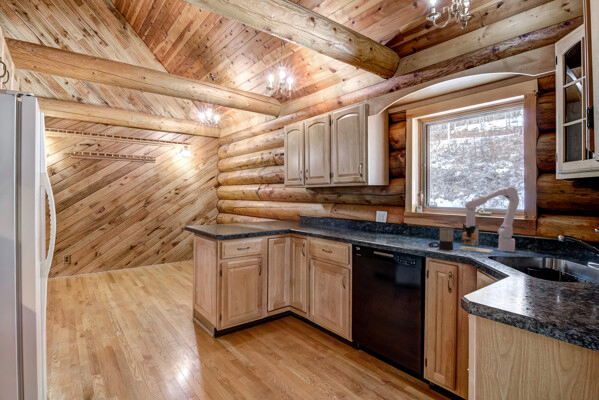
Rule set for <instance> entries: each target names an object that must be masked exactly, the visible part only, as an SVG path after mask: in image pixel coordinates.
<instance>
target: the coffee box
mask: <svg viewBox="0 0 599 400" xmlns="http://www.w3.org/2000/svg"><path fill="white" fill-rule="evenodd" d="M464 224H465V223H463V224H462V233H464V232H466V230H465V228H464V227H466V225H464ZM473 227H476V229H475V231H474V233H477V234H478V235H479V229H480V228H479V227H480V225H479V224H475V226H473ZM461 239H462V238H461ZM461 243H462V245H467V246H470V247H473V246H475V247H476V246H478V245H479V238H478V239H477V240H472V239H462V240H461Z"/></svg>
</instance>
